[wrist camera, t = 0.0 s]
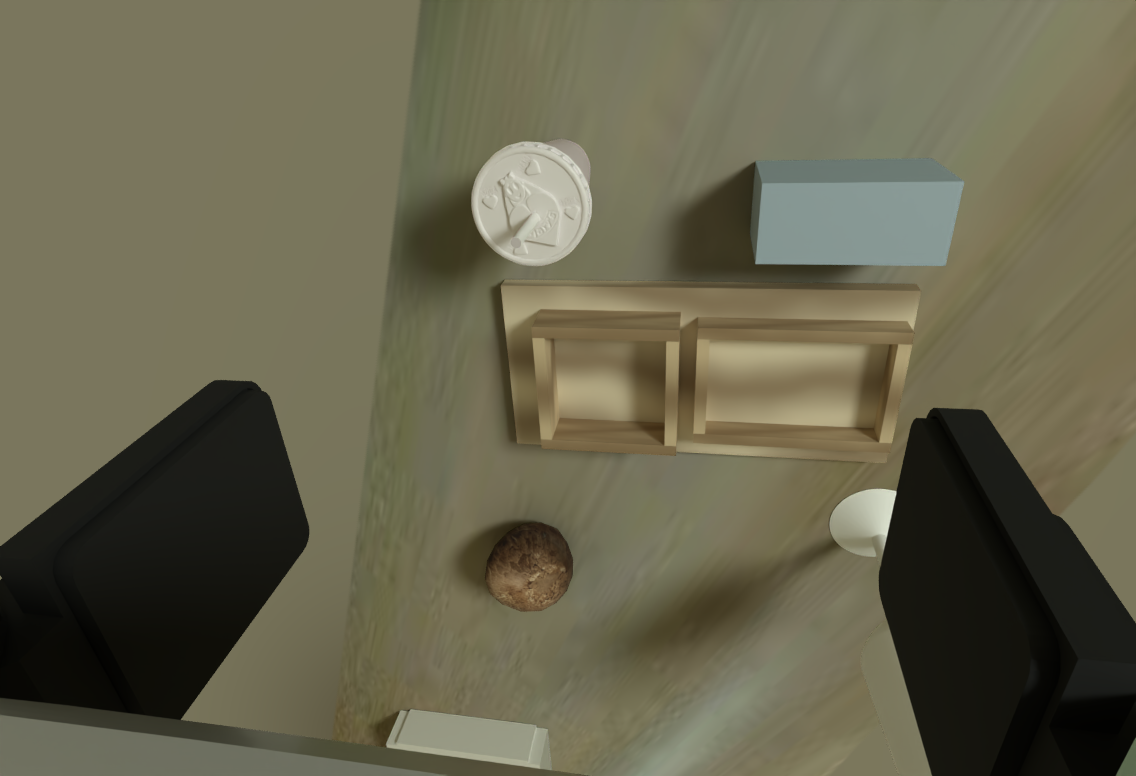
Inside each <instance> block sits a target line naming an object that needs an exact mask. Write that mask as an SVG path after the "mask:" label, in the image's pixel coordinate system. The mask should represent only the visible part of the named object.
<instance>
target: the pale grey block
mask: <svg viewBox="0 0 1136 776" xmlns="http://www.w3.org/2000/svg"><path fill="white" fill-rule="evenodd" d="M963 185H964V181H963V180H962V179H960V178H959V177H957V176H956V175H955V174H953V173H952V172H951V171H949V170H948V169H946V168H945V167H944V166H942V165H941V164H939V163H938V162H937V161H935V160H934V159H933V158H918V159H852V160H786V161H756V162H755V175H754V188H753V200H752V213H751V225H750V237H751V243H752V248H753V254H754V259H755V264H806V265H910V266H945V265H946V261H947V257H948V252H949V248H950V243H951V239H952V234H953V230H954V225H955V221H956V216H957V212H958V207H959V203H960V198H961V194H962V189H963Z"/></svg>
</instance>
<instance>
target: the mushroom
mask: <svg viewBox="0 0 1136 776" xmlns="http://www.w3.org/2000/svg"><path fill="white" fill-rule="evenodd" d="M572 575H573V558H572V555H571V552H570V549H569V547H568V544H567V542H566V540H565V539H564V538H563V536H562V535H561V533H560V532H559V530H558V529H556V528H554V527H551V526H549V525H546V524H543V523H529V524H522V525H521V526H519V527H517V528H515V529H513V530H511V531H509V532H508V533H507V534H506V535H505V536H504V537H503V538H502V539H501V540H500V541H499V542H498V543H497V544H496V545H495V547H494V549H493V551H492V552H491V554H490V556H489V558H488V560H487V566H486V573H485V581H486V583H487V586H488V589H489V592H490V594H491V595H492V596H493V597H495V598H496V599H497V600H498V601H499V602H500V603H502V604H503V605H506V606H508V607H511V608H513V609H516V610H519V611H523V612H525V611H542V610H544V609H546V608H547V607H549V606H551V605H553V604H555V603H557V601H558V600H559V599H560V598H561V597H562V596H563V594H564V593H565V592H566V591H567V589H568V586H569V583H570V581H571V578H572Z"/></svg>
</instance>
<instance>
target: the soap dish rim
mask: <svg viewBox="0 0 1136 776" xmlns="http://www.w3.org/2000/svg"><path fill="white" fill-rule="evenodd" d="M386 746H387V748H394V749H401V750H408V751H415V752H423V753H430V754H437V755H445V756H452V757H459V758H467V759H474V760H481V761H488V762H496V763H503V764H510V765H517V766H524V767H531V768H539V769H546V770H552V766H551V756H550V747H549V737H548V729H545V728H537V727H536V725H532V724H524V723H516V722H509V721H501V720H493V719H485V718H477V717H469V716H461V715H453V714H445V713H437V712H429V711H421V710H413V709H410V711H403V710H400V713H399V715H398V717H397V720H396V722H395V724H394V727H393V729H392V731H391V734H390V736H389V738H388V741H387V743H386Z"/></svg>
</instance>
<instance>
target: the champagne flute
mask: <svg viewBox="0 0 1136 776" xmlns="http://www.w3.org/2000/svg"><path fill="white" fill-rule="evenodd" d="M895 497H896V491H892V490H887V489H870V490H865V491H861V492H857V493H855V494H853V495H850V496H849V497H847V498H846V499H844V500H843V501H842V502H840V503H839V504H838V505H837V506H836V508H835V509H834V511H833V512H832V515H831V517H830V523H829V526H830V532H831V535H832V537H833V538H834V540H835V541H836V543H838V544H839V545H840V546H841V547H842V548H844V549H845V550H847V551H849V552H851V553H854V554H857V555H862V556H871V557H876V556H877V560H878V563H879V566H881V561H882V556H883V552H884V547H885V543H886V538H887V534H888V529H889V524H890V520H891V515H892V511H893V506H894V501H895ZM861 669H862V672H863V675H864V678H865V681H866V684H867V687H868V689H869V692H870V695H871V698H872V701H873V704H874V707H875V709H876V712H877V715H878V718H879V721H880V724H881V727H882V729H883V732H884V735H885V738H886V741H887V744H888V746H889V750H890V752H891V755H892V758H893V761H894V764H895V767H896V770H897V772H898V775H899V776H932V774H931V771H930V767H929V764H928V760H927V757H926V754H925V750H924V747H923V743H922V740H921V736H920V733H919V729H918V726H917V722H916V719H915V715H914V712H913V709H912V705H911V702H910V698H909V695H908V691H907V688H906V684H905V681H904V677H903V674H902V670H901V667H900V663H899V660H898V657H897V653H896V650H895V646H894V643H893V639H892V636H891V632H890V629H889V625H888V622H887V620H885V621H883V622H882V623H881V624H879V625H878V626H877V627H876V628H875V630H874V631H873V632H872V633H871V634H870V636H869V637H868V639H867V641H866V643H865V645H864V647H863V650H862V654H861Z"/></svg>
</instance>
